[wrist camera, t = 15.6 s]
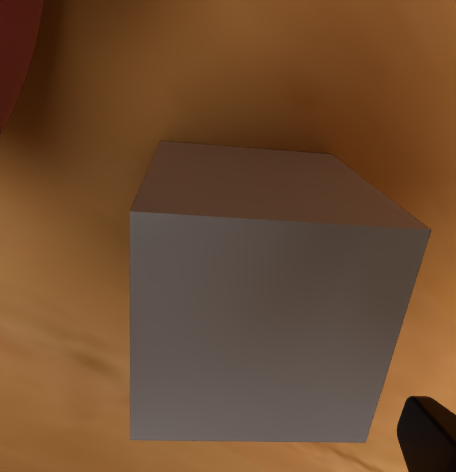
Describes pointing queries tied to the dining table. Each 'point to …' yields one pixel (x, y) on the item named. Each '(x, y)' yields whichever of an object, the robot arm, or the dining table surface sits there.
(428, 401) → the robot arm
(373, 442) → the dining table surface
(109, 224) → the dining table surface
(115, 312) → the dining table surface
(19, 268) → the dining table surface
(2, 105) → the canister
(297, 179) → the grey matte cube
